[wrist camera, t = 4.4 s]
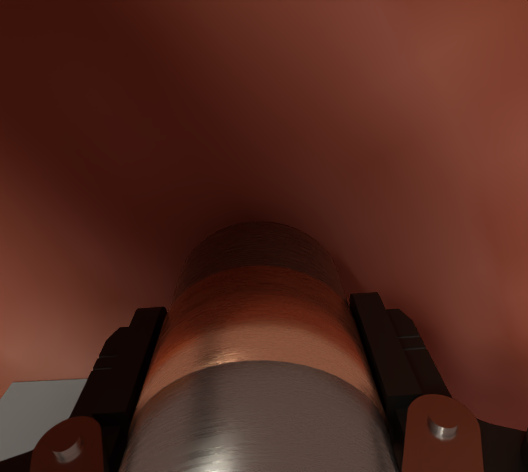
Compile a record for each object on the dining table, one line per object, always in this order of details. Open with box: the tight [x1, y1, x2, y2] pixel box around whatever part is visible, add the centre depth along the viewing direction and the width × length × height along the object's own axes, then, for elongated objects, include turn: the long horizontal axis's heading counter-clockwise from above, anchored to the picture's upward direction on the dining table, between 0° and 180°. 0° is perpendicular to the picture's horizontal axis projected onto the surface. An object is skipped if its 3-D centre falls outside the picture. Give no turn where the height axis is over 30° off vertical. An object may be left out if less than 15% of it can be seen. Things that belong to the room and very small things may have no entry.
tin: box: [118, 222, 401, 472], centre depth 9 cm, size 5×5×8 cm
